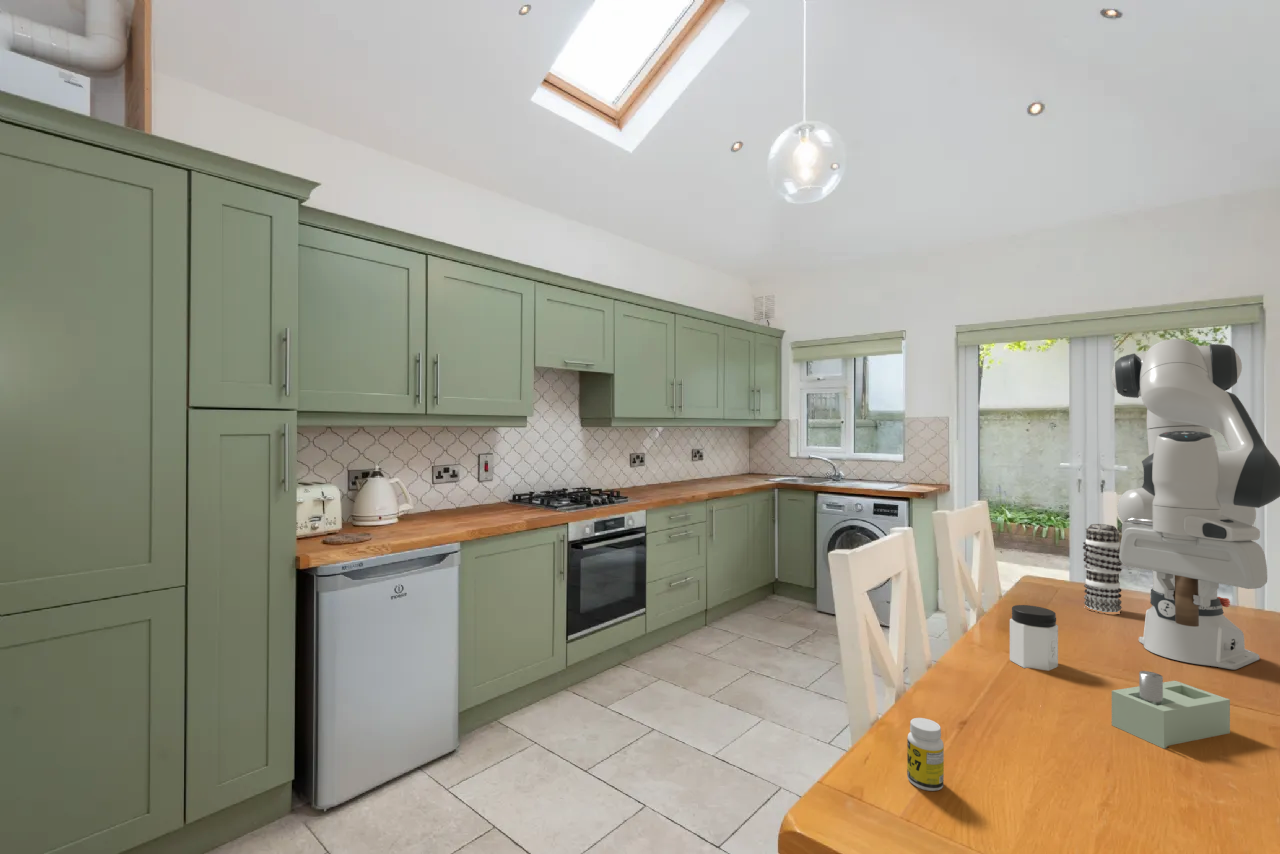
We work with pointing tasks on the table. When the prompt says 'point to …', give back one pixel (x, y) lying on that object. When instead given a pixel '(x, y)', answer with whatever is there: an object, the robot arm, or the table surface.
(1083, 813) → the table surface
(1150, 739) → the socket block
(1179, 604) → the walnut peg
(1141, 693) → the grey metal peg
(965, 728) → the table surface
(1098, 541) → the decorative candle
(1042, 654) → the jar
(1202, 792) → the table surface
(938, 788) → the supplement bottle
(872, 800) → the table surface
